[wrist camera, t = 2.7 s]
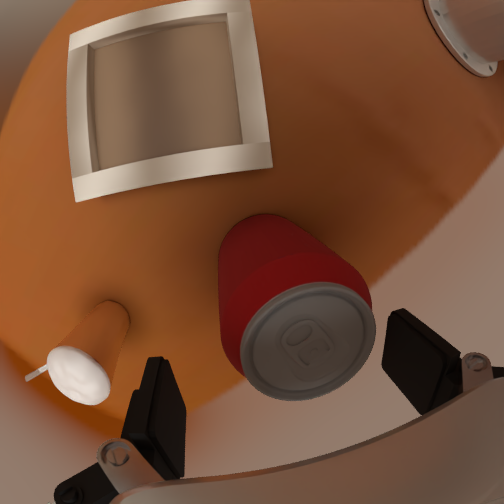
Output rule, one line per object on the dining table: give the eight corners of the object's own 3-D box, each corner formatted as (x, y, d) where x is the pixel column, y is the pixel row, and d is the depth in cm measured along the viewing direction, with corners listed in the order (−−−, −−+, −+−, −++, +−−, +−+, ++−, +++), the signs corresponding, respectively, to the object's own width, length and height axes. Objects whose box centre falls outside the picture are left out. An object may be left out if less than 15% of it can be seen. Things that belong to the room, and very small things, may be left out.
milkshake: (81, 284, 20) (18, 350, 10) (139, 300, 21) (98, 383, 11) (81, 328, 21) (32, 402, 12) (135, 345, 22) (104, 431, 13)
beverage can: (254, 313, 22) (287, 430, 11) (199, 251, 20) (180, 347, 9) (321, 261, 22) (409, 345, 10) (272, 193, 20) (343, 223, 8)
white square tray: (242, 23, 16) (248, -5, 12) (261, 168, 19) (272, 167, 15) (92, 53, 15) (70, 34, 11) (101, 195, 18) (75, 202, 14)
